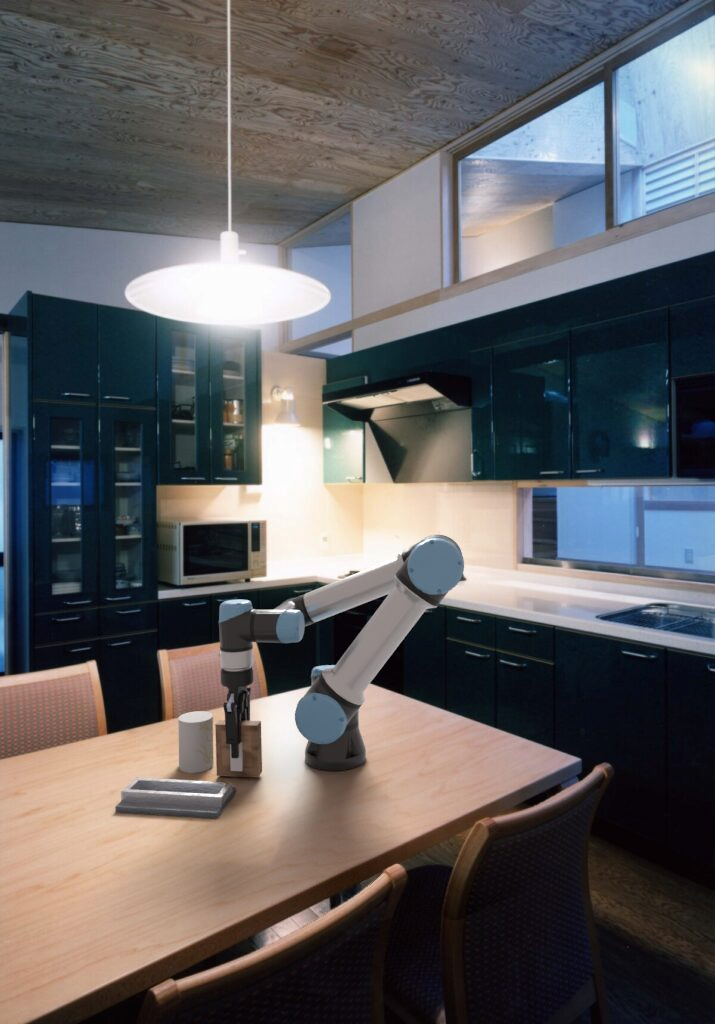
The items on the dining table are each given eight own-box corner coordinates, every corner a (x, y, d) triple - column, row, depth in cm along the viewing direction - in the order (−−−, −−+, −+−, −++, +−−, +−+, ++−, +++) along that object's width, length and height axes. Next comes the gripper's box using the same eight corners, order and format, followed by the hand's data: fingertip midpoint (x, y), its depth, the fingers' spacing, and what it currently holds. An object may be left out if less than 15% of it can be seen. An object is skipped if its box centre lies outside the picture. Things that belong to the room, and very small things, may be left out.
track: (235, 791, 145) (235, 777, 145) (217, 818, 133) (217, 803, 133) (141, 786, 147) (141, 772, 147) (115, 812, 136) (115, 797, 136)
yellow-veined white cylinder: (204, 773, 154) (204, 723, 154) (173, 771, 156) (172, 721, 155) (218, 760, 162) (218, 712, 162) (188, 757, 164) (187, 710, 163)
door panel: (262, 771, 153) (261, 720, 153) (258, 777, 150) (257, 725, 150) (221, 770, 154) (219, 719, 154) (216, 775, 151) (215, 724, 151)
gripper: (232, 658, 160) (234, 752, 161) (208, 676, 144) (211, 781, 145) (262, 658, 159) (264, 753, 160) (241, 677, 143) (244, 782, 144)
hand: (239, 766), depth 152 cm, fingers closed on door panel, 3 cm apart
